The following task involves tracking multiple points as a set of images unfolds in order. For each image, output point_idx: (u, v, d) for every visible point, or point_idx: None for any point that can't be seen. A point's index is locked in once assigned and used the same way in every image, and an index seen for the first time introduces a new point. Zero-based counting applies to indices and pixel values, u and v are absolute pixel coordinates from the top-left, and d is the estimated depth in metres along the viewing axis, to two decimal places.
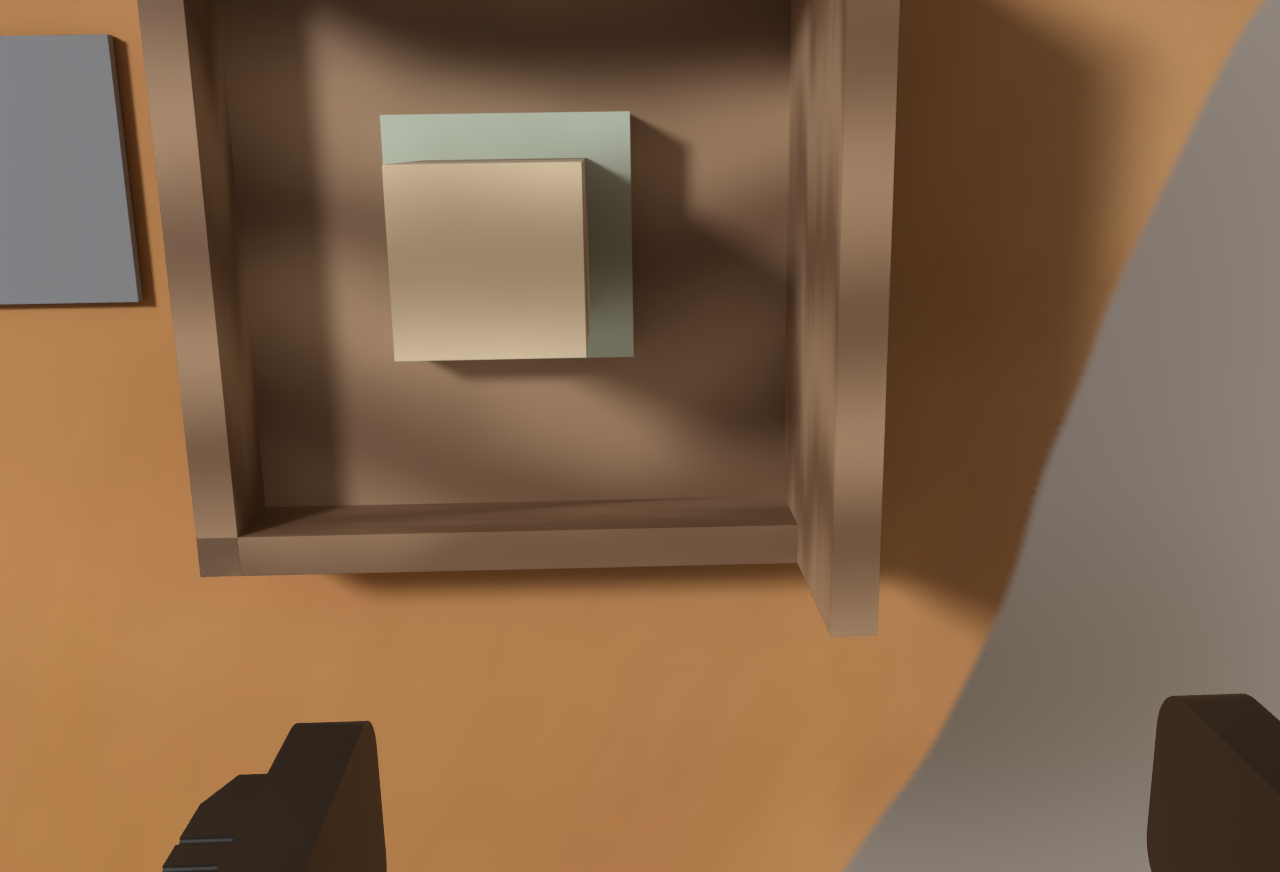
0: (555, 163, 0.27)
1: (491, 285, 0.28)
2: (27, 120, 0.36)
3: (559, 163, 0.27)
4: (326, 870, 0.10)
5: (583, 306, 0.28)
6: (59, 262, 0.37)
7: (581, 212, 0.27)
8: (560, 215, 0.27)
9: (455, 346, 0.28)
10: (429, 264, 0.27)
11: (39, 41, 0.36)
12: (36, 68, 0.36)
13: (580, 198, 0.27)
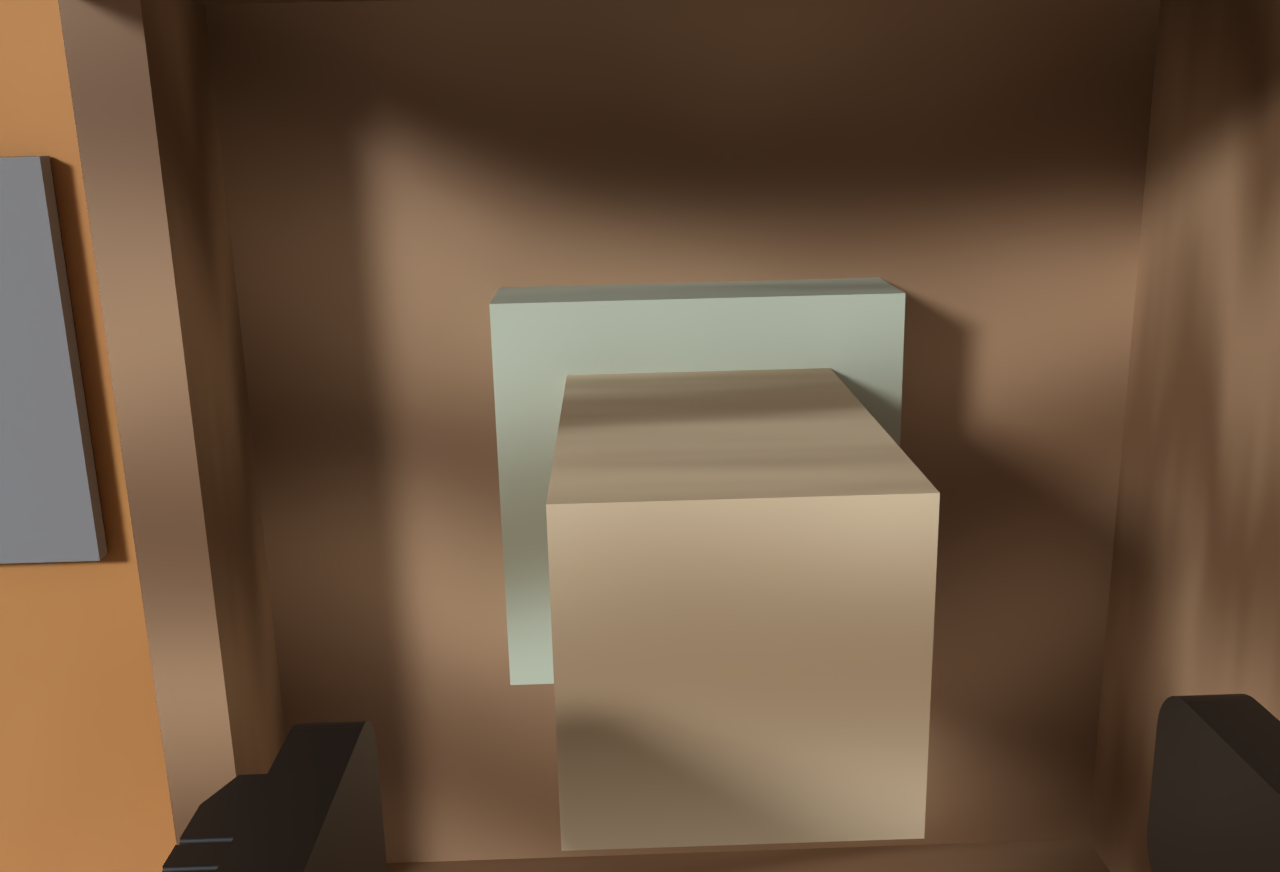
0: (888, 497, 0.14)
1: (751, 718, 0.14)
2: None
3: (896, 497, 0.14)
4: (326, 870, 0.10)
5: (925, 751, 0.14)
6: None
7: (932, 585, 0.14)
8: (891, 592, 0.14)
9: (677, 823, 0.15)
10: (633, 682, 0.14)
11: None
12: None
13: (933, 560, 0.14)
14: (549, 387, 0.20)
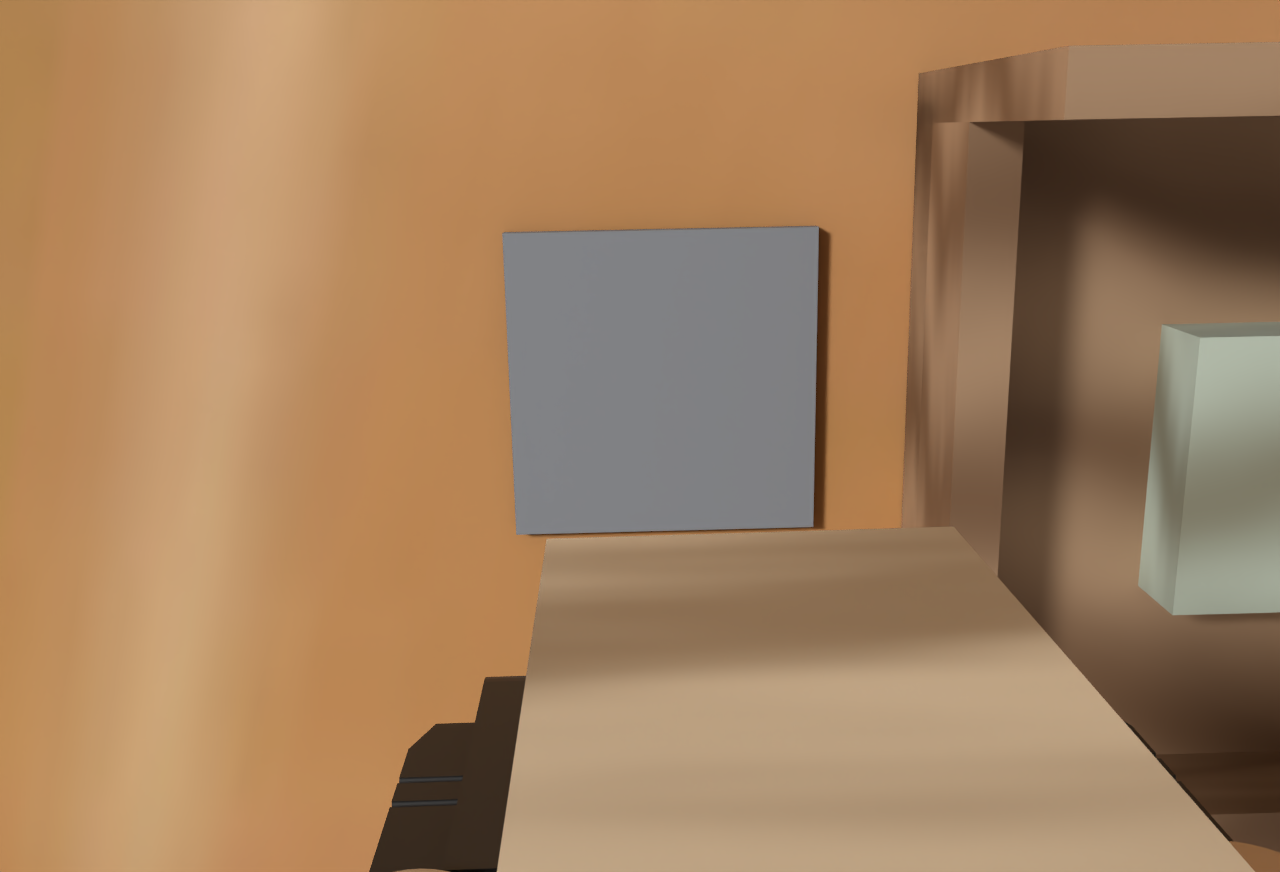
0: None
1: None
2: (712, 324, 0.31)
3: None
4: None
5: None
6: (729, 483, 0.32)
7: None
8: None
9: None
10: None
11: (739, 235, 0.30)
12: (731, 266, 0.30)
13: None
14: (1233, 397, 0.28)
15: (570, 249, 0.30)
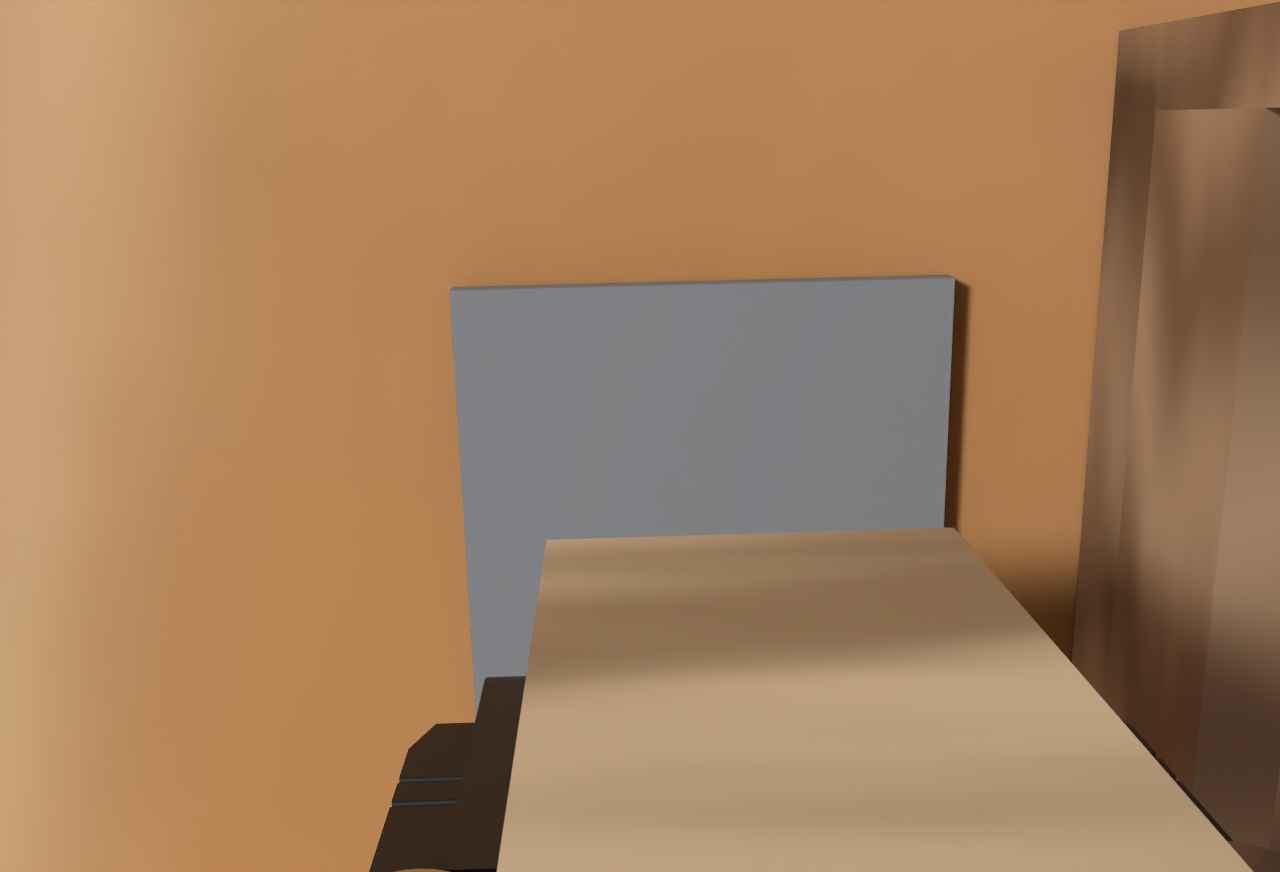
0: None
1: None
2: (784, 431, 0.19)
3: None
4: None
5: None
6: None
7: None
8: None
9: None
10: None
11: (827, 291, 0.19)
12: (814, 341, 0.19)
13: None
14: None
15: (558, 314, 0.19)
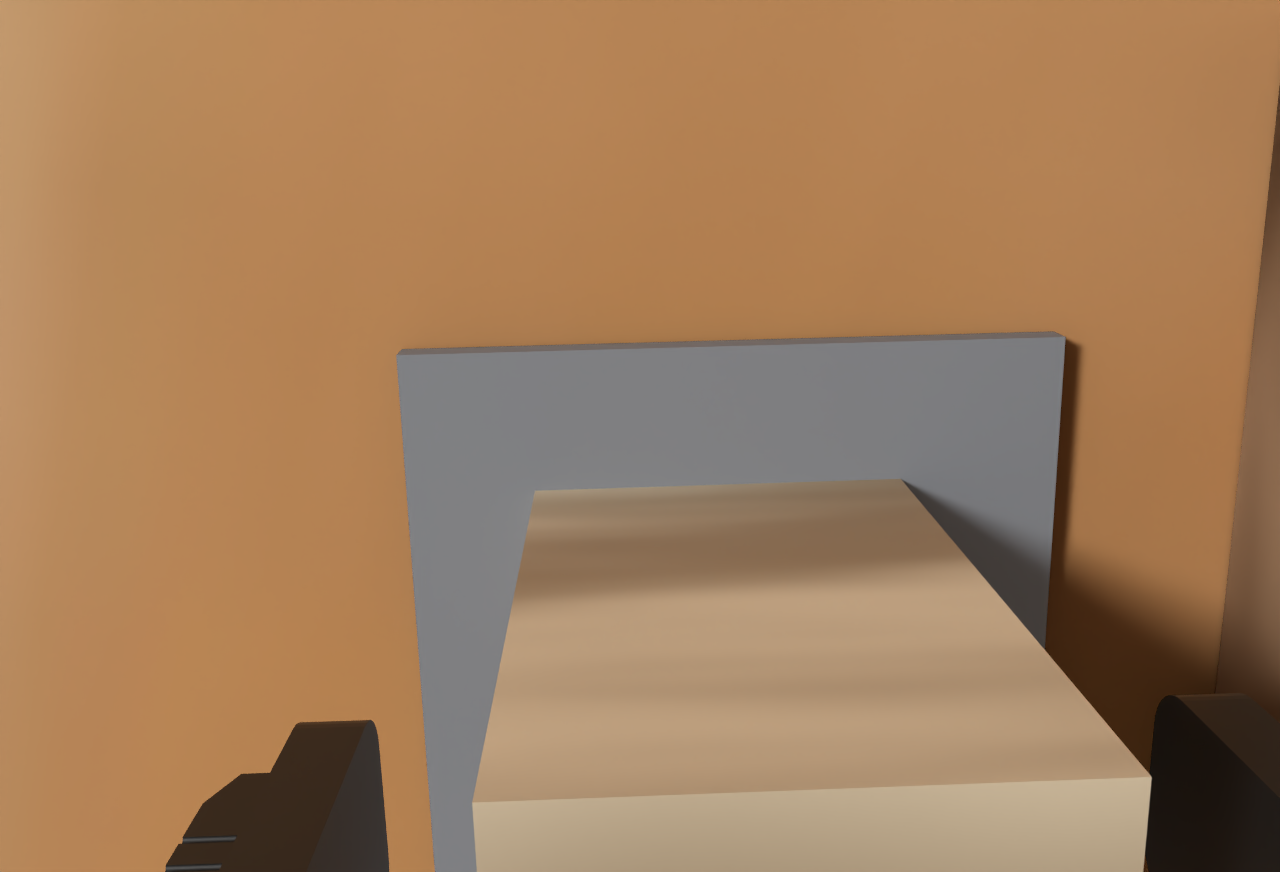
0: (1064, 784, 0.08)
1: None
2: None
3: (1077, 784, 0.08)
4: (329, 869, 0.10)
5: None
6: None
7: None
8: None
9: None
10: None
11: (896, 355, 0.14)
12: (878, 419, 0.14)
13: None
14: None
15: (541, 385, 0.14)
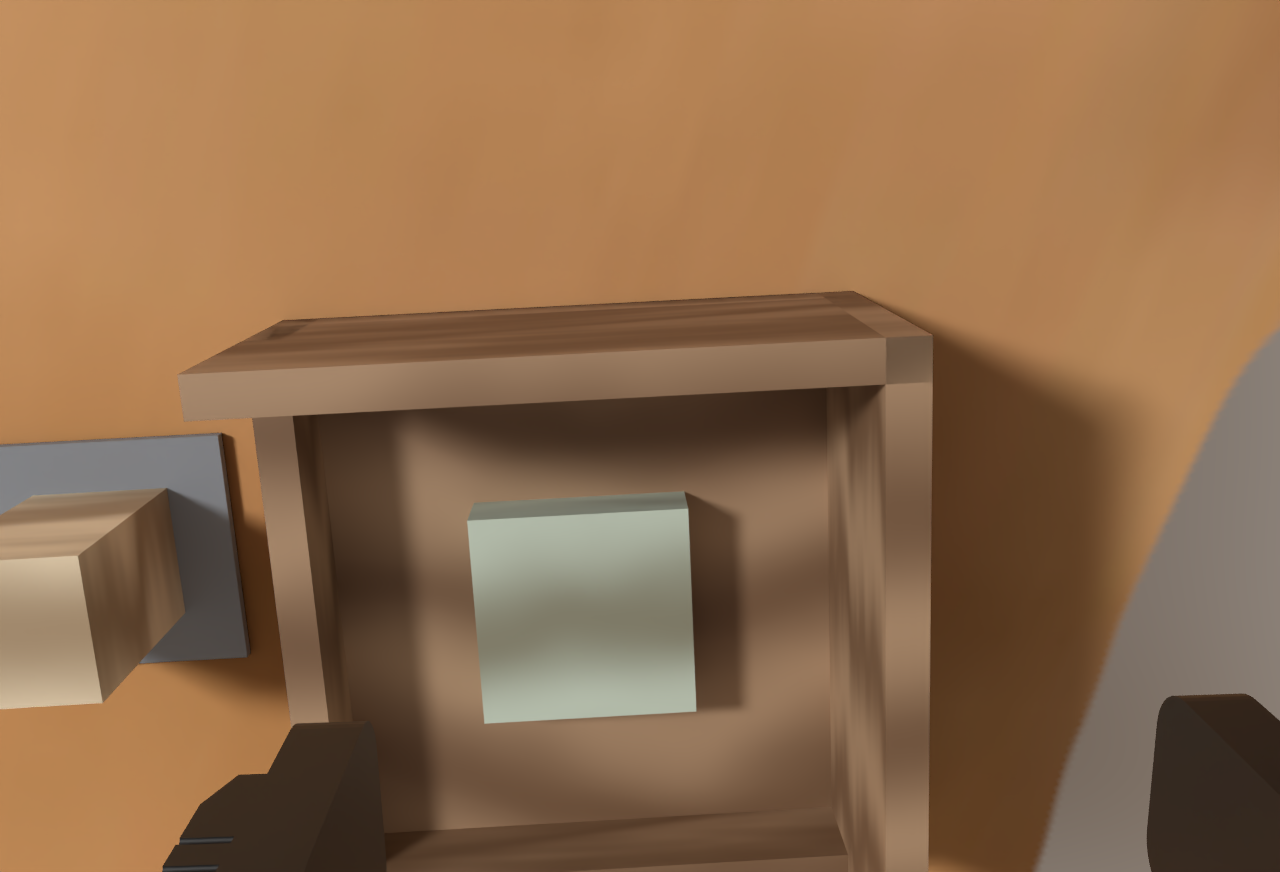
0: (57, 558, 0.34)
1: (17, 651, 0.34)
2: None
3: (60, 557, 0.34)
4: (326, 870, 0.10)
5: (94, 664, 0.34)
6: (176, 626, 0.41)
7: (83, 593, 0.34)
8: (66, 597, 0.34)
9: None
10: None
11: (157, 443, 0.40)
12: (155, 466, 0.40)
13: (80, 583, 0.34)
14: (500, 563, 0.38)
15: (30, 457, 0.40)
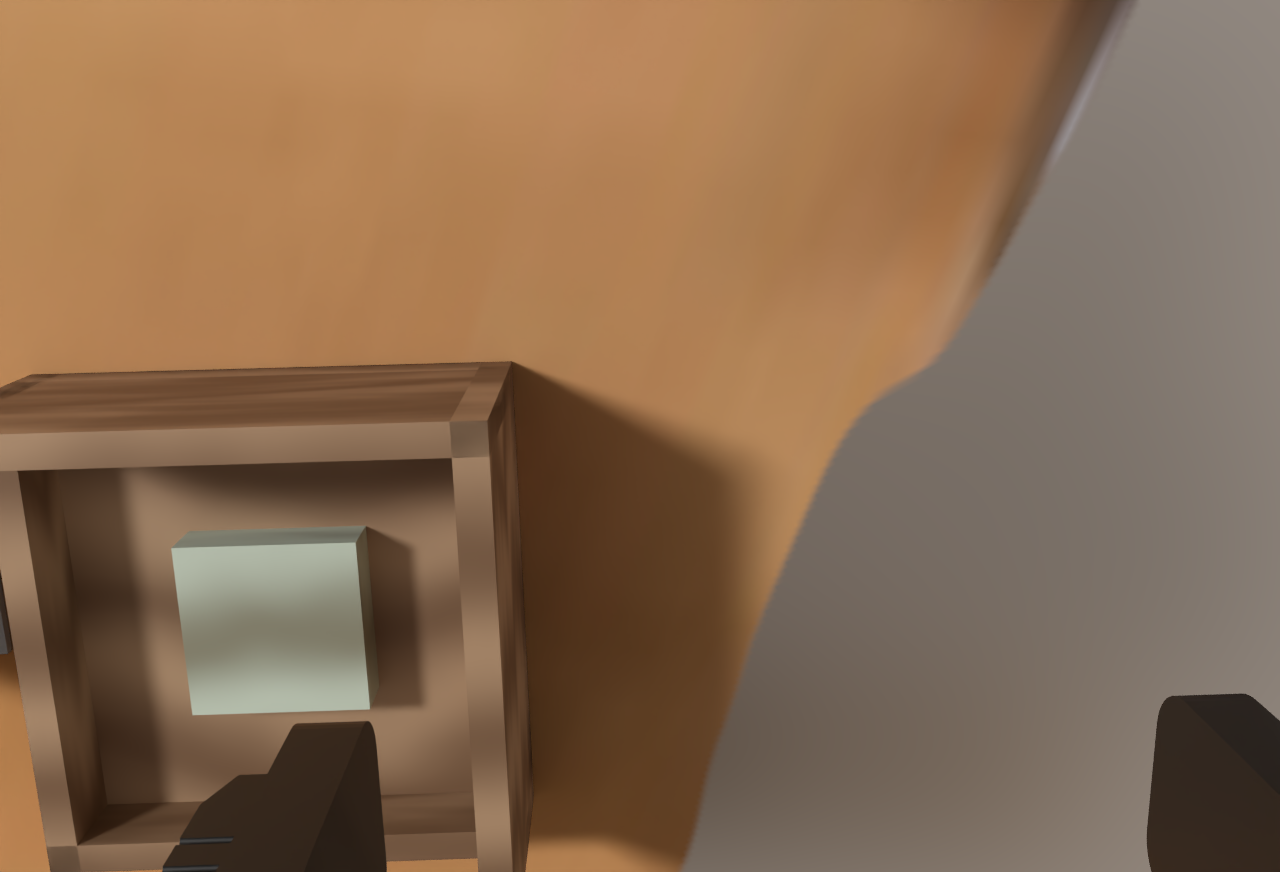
0: None
1: None
2: None
3: None
4: (326, 870, 0.10)
5: None
6: None
7: None
8: None
9: None
10: None
11: None
12: None
13: None
14: (200, 583, 0.46)
15: None
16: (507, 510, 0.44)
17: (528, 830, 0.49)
